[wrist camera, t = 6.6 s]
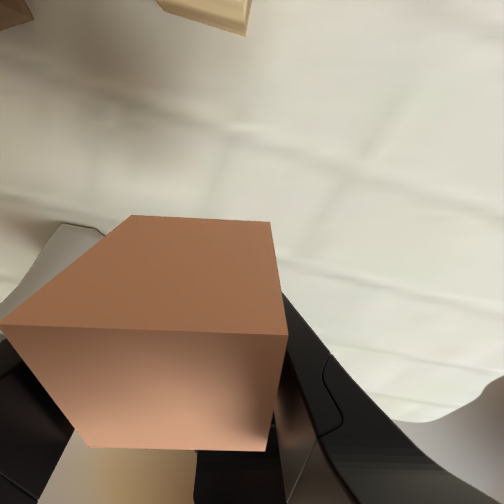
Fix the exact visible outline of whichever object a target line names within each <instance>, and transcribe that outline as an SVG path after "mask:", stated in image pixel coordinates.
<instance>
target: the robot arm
mask: <svg viewBox="0 0 504 504" xmlns="http://www.w3.org/2000/svg"><path fill="white" fill-rule="evenodd" d="M281 292H282V291H281ZM282 298H283V304H284V311H285V317H286V323H287V329H288V335H289V336H288V341H287V345H286V350H285V355H284V360H283V365H282V370H281V375H280V380H279V385H278V390H277V395H276V400H275V405H274V410H273V415H272V420H271V425H270V430H269V435H268V440H267V445H266V450H265V451H225V450H195V452H196V454H197V466H196V476H195V485H194V493H193V498H194V503H195V504H502V503H500V502H499V501H497V500H495V499H493V498H492V497H490V496H488V495H486V494H485V493H483V492H482V491H480V490H478V489H477V488H475V487H473V486H472V485H470V484H468V483H466V482H465V481H463V480H461V479H460V478H458V477H456V476H455V475H453V474H451V473H450V472H448V471H447V470H445V469H444V468H442V467H441V466H439V465H438V464H437V463H436V462H435V461H433V460H432V459H431V458H430V457H428V456H427V455H426V454H425V453H424V452H423V451H421V450H420V449H419V448H418V447H417V446H416V445H415V444H414V443H413V442H412V441H411V440H410V439H409V438H408V437H407V436H406V435H405V434H404V433H403V432H402V430H401V429H400V428H398V426H397V425H396V424H395V423H394V422H393V421H392V420H391V419H390V418H389V417H388V416H387V415H386V414H385V413H384V412H383V411H382V410H381V409H380V408H379V407H378V406H377V404H376V403H375V402H374V401H373V400H372V399H371V398H370V397H369V396H368V395H367V394H366V393H365V392H364V391H363V390H362V389H361V388H360V386H359V385H358V384H357V383H356V382H355V381H354V380H353V379H352V378H351V376H350V375H349V374H348V373H347V372H346V371H345V369H344V368H343V367H342V366H341V365H340V363H339V362H338V361H337V360H336V358H335V357H334V356H333V355H332V354H331V353H330V351H329V350H328V349H327V347H326V346H325V345H324V344H323V342H322V341H321V340H320V339H319V337H318V336H317V335H316V334H315V332H314V331H313V330H312V329H311V327H310V326H309V325H308V324H307V323H306V321H305V320H304V319H303V318H302V316H301V315H300V314H299V313H298V311H297V310H296V309H295V308H294V306H293V305H292V304H291V303H290V301H289V300H288V299H287V298H286V296H285V295H284V294H283V293H282ZM330 354H331V355H330ZM74 430H75V428H74V427H73V426H72V424H71V423H70V422H69V420H68V419H67V418H66V416H65V415H64V414H63V412H62V411H61V410H60V408H59V407H58V406H57V404H56V403H55V402H54V400H53V399H52V398H51V396H50V395H49V394H48V392H47V391H46V390H45V388H44V387H43V386H42V384H41V383H40V382H39V380H38V379H37V378H36V376H35V375H34V374H33V372H32V371H31V370H30V368H29V367H28V366H27V364H26V363H25V362H24V361H23V359H22V358H21V357H20V355H19V354H18V353H17V351H16V350H15V349H14V347H13V346H12V345H11V343H10V342H9V341H8V339H7V338H5V339H4V340H2V341H1V342H0V504H37V503H38V499H39V498H40V496H41V494H42V492H43V490H44V488H45V486H46V484H47V483H48V480H49V479H50V477H51V475H52V473H53V471H54V469H55V467H56V465H57V463H58V461H59V459H60V457H61V455H62V453H63V451H64V449H65V447H66V445H67V443H68V441H69V439H70V437H71V436H72V434H73V432H74Z"/></svg>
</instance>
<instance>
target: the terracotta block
mask: <svg viewBox="0 0 504 504" xmlns="http://www.w3.org/2000/svg"><path fill="white" fill-rule="evenodd" d="M0 330H1V331H2V333H3V334H4V335H5V337H6V338H7V339H8V341H9V342H10V343H11V345H12V346H13V347H14V349H15V350H16V351H17V353H18V354H19V355H20V357H21V358H22V359H23V361H24V362H25V363H26V364H27V366H28V367H29V368H30V370H31V371H32V372H33V374H34V375H35V376H36V378H37V379H38V380H39V382H40V383H41V384H42V386H43V387H44V388H45V390H46V391H47V392H48V394H49V395H50V396H51V398H52V399H53V400H54V402H55V403H56V404H57V406H58V407H59V408H60V410H61V411H62V412H63V414H64V415H65V416H66V418H67V419H68V420H69V422H70V423H71V424H72V426H73V427H74V428H75V429H76V431H77V432H78V433H79V435H80V436H81V437H82V439H83V440H84V441H85V443H86V444H87V445H88V447H104V448H105V447H106V448H145V449H185V450H186V449H187V450H225V451H265V450H266V445H267V440H268V435H269V430H270V425H271V420H272V415H273V410H274V405H275V400H276V395H277V390H278V385H279V380H280V375H281V370H282V365H283V360H284V355H285V350H286V345H287V341H288V336H289V335H288V329H287V323H286V317H285V311H284V304H283V298H282V292H281V286H280V280H279V274H278V268H277V262H276V256H275V250H274V244H273V238H272V232H271V226H270V222H260V221H240V220H220V219H200V218H180V217H160V216H140V215H131V216H130V217H128V218H127V219H126V220H125V221H123V222H122V223H121V224H120V225H118V226H117V227H116V228H115V229H114V230H112V231H111V232H110V233H109V234H107V235H106V236H105V237H104V238H102V239H101V240H100V241H99V242H97V243H96V244H95V245H94V246H92V247H91V248H90V249H89V250H87V251H86V252H85V253H84V254H83V255H81V256H80V257H79V258H78V259H76V260H75V261H74V262H73V263H71V264H70V265H69V266H68V267H66V268H65V269H64V270H63V271H61V272H60V273H59V274H58V275H57V276H55V277H54V278H53V279H52V280H50V281H49V282H48V283H47V284H45V285H44V286H43V287H42V288H40V289H39V290H38V291H37V292H35V293H34V294H33V295H32V296H30V297H29V298H28V299H27V300H26V301H24V302H23V303H22V304H21V305H19V306H18V307H17V308H16V309H14V310H13V311H12V312H11V313H9V314H8V315H7V316H6V317H4V318H3V319H2V320H1V321H0Z"/></svg>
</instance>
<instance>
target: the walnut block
mask: <svg viewBox="0 0 504 504" xmlns="http://www.w3.org/2000/svg"><path fill="white" fill-rule="evenodd" d="M30 20H34V18H33V16H32V14H31V12H30V10H29V8H28V6H27V4H26V2H25V0H0V30H3V29H6V28H9V27H12V26H15V25H18V24H21V23H24V22H27V21H30Z"/></svg>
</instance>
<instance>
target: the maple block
mask: <svg viewBox="0 0 504 504" xmlns="http://www.w3.org/2000/svg"><path fill="white" fill-rule="evenodd" d="M156 1H157V3H158V4H159V5H160V6H161V8H162V9H163V10H164V11H165V12H168V13H171V14H175V15H178V16H181V17H184V18H187V19H190V20H194V21H197V22H200V23H203V24H206V25H209V26H213V27H216V28H219V29H222V30H225V31H228V32H232V33H235V34H238V35H241V36H244V37H246V32H247V26H248V20H249V14H250V8H251V2H252V0H156Z"/></svg>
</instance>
